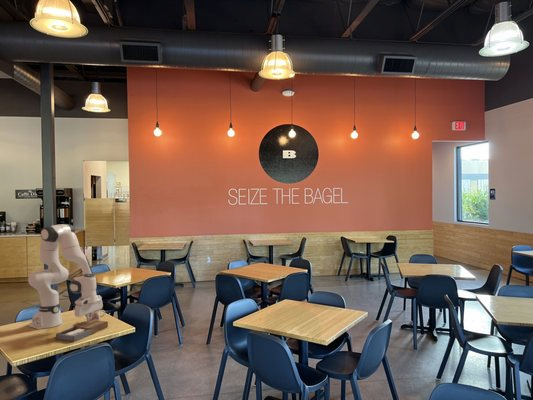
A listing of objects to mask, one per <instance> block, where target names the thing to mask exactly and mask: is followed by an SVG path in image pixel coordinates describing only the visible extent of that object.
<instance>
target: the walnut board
mask: <svg viewBox="0 0 533 400" xmlns="http://www.w3.org/2000/svg"><path fill="white" fill-rule="evenodd" d="M73 327H75V330H77V329H85V331H86V330H89V329H91V335H95V334H96V332H97V333H99V332H101V331H104V330H105V328H106V329H108V328H109V321H107V320H106V321H105V320H100V321H99V320H88V321H87V320H86V321H84V322H81V323H79V324H78V323H77V324H76V325H73ZM107 327H108V328H107ZM98 331H99V332H98ZM91 335H90V336H91Z"/></svg>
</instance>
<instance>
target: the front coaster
mask: <svg viewBox="0 0 533 400" xmlns="http://www.w3.org/2000/svg"><path fill="white" fill-rule="evenodd" d="M77 334H78V332H73V331H72V332H69V333H66V335H73V336H74V335H77Z"/></svg>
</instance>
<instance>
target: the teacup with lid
mask: <svg viewBox="0 0 533 400" xmlns="http://www.w3.org/2000/svg"><path fill="white" fill-rule="evenodd" d="M101 312H103V314H102V315H101ZM105 315H106V311H105V310H104V309H100V310H97V311H94V313H93V316H92V319H90V320H99V321H101V318H103V317H104V316H105ZM88 316H90V313H89V315H88ZM86 321H88V320H87V319H86Z"/></svg>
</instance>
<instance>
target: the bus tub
mask: <svg viewBox="0 0 533 400" xmlns="http://www.w3.org/2000/svg"><path fill="white" fill-rule="evenodd" d="M72 331H75V327H74V326H73V327H70V328H68V329H64V330H62V331H60V332H57V333H55V340H57V341H62V342H68V343H69V342H70V343H75V342H78V341H80V340H82V339H85V338H87V337H90V336H91V329H89V330H86V331H84V332H82V333H79V334H77V335H74V336H73V335H66V333H69V332H72Z"/></svg>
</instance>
